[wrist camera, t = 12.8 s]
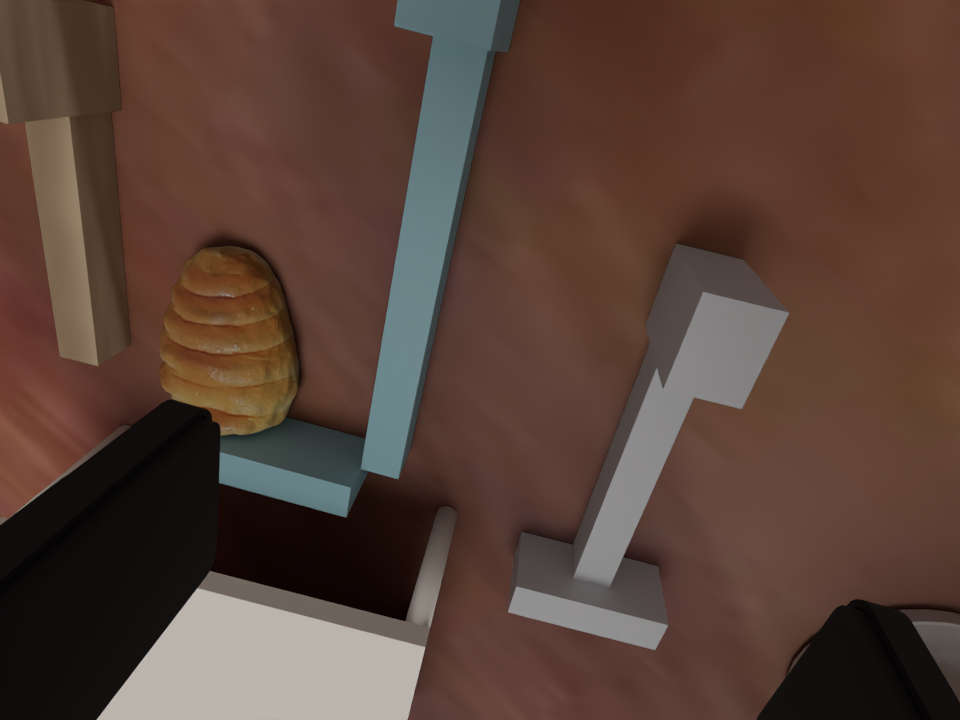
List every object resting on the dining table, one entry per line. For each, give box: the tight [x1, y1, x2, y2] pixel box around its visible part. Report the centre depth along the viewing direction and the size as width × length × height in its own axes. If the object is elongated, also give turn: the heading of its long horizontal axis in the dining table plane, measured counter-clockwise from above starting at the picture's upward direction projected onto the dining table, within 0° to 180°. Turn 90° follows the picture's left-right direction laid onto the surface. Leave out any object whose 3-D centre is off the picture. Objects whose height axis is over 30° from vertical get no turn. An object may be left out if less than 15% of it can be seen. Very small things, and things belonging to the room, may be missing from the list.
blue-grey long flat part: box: [219, 0, 520, 517], centre depth 25 cm, size 12×26×6 cm, turn 167°
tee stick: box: [508, 244, 789, 650], centre depth 28 cm, size 8×20×6 cm, turn 168°
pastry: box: [159, 246, 299, 435], centre depth 29 cm, size 9×7×4 cm
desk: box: [0, 425, 457, 720], centre depth 34 cm, size 20×18×9 cm
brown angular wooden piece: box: [0, 0, 131, 366], centre depth 26 cm, size 3×16×6 cm, turn 168°
